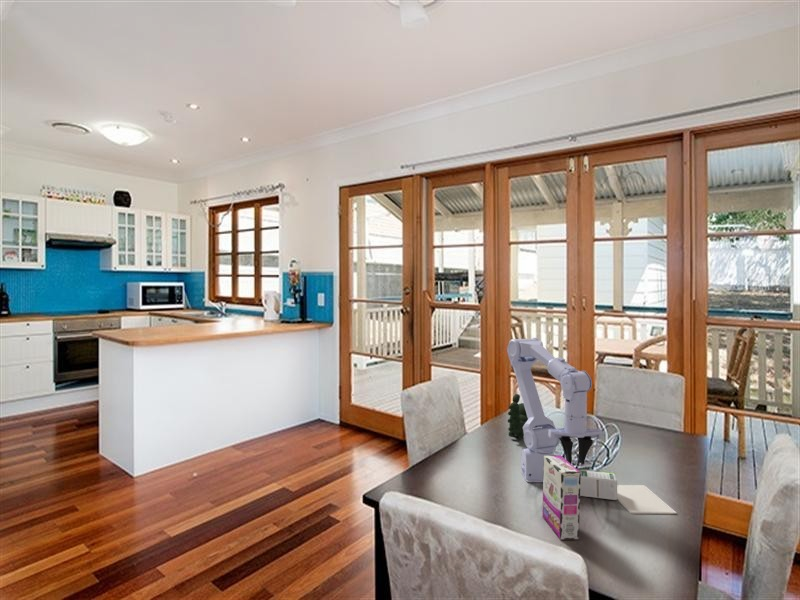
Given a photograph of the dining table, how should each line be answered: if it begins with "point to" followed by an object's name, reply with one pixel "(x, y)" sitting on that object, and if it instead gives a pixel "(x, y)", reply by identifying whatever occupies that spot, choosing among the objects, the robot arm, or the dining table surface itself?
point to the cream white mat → (641, 500)
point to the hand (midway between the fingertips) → (575, 462)
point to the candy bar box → (561, 497)
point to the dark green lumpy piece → (517, 417)
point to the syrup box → (598, 484)
